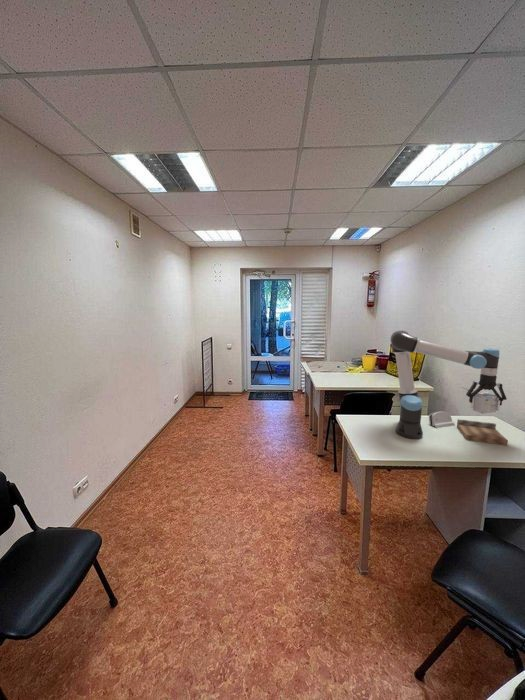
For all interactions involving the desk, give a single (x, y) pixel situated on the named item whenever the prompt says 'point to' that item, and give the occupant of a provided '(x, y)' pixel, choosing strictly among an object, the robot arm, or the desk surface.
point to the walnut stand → (480, 432)
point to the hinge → (440, 419)
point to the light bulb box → (485, 402)
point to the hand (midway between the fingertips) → (484, 409)
